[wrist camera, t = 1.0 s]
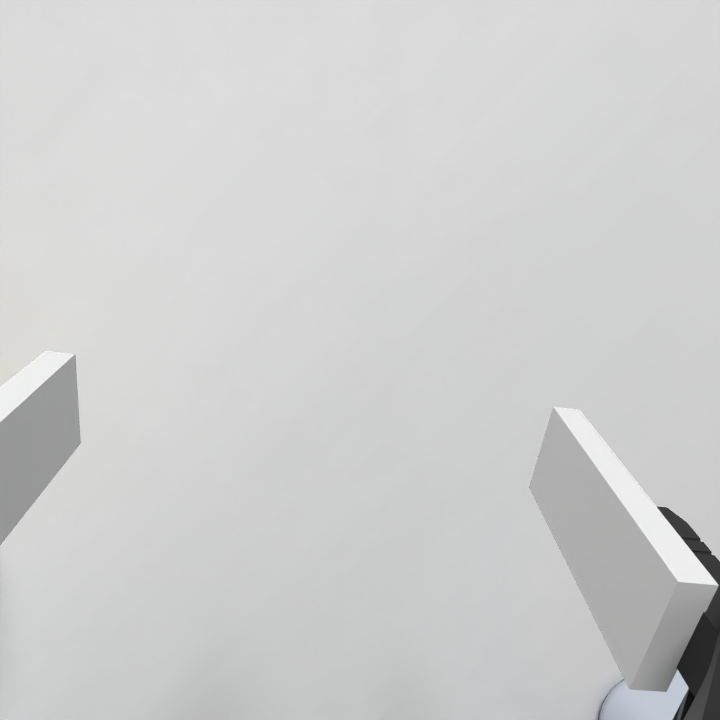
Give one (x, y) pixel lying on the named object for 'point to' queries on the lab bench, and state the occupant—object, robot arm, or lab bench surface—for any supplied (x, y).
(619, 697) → the plastic bottle
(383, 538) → the lab bench surface
